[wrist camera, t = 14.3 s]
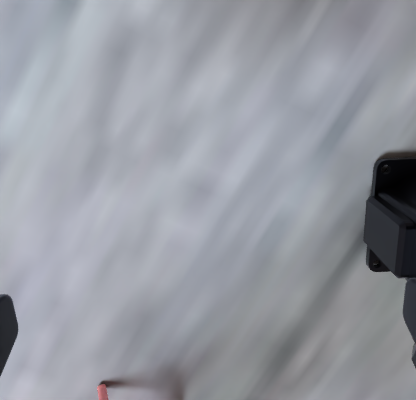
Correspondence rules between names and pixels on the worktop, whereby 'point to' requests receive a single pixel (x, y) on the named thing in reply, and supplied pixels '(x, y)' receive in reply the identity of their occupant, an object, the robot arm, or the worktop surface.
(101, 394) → the figurine
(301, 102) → the worktop surface
